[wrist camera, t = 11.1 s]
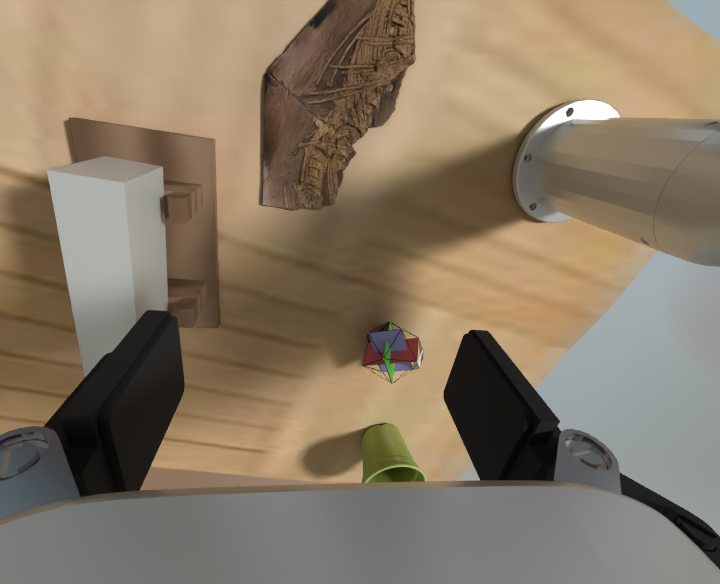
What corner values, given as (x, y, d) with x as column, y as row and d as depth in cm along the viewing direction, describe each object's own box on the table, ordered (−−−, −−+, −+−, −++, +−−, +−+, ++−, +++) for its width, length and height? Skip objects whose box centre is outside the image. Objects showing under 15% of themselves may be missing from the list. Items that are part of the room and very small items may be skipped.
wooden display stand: (214, 139, 31) (195, 146, 25) (219, 323, 40) (206, 361, 34) (75, 117, 29) (16, 119, 22) (113, 318, 37) (78, 359, 31)
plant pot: (338, 443, 53) (345, 498, 46) (379, 406, 51) (393, 457, 43) (380, 462, 57) (393, 516, 50) (420, 428, 55) (440, 479, 47)
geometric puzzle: (357, 379, 45) (405, 403, 39) (341, 340, 41) (391, 360, 36) (390, 344, 48) (438, 362, 43) (378, 306, 45) (428, 320, 39)
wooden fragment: (313, 234, 37) (313, 237, 36) (215, 176, 33) (212, 178, 32) (469, -11, 29) (475, -15, 28) (367, -128, 25) (370, -137, 24)
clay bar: (162, 166, 27) (124, 182, 21) (169, 333, 34) (141, 381, 28) (105, 156, 26) (46, 169, 20) (124, 329, 33) (84, 379, 27)
